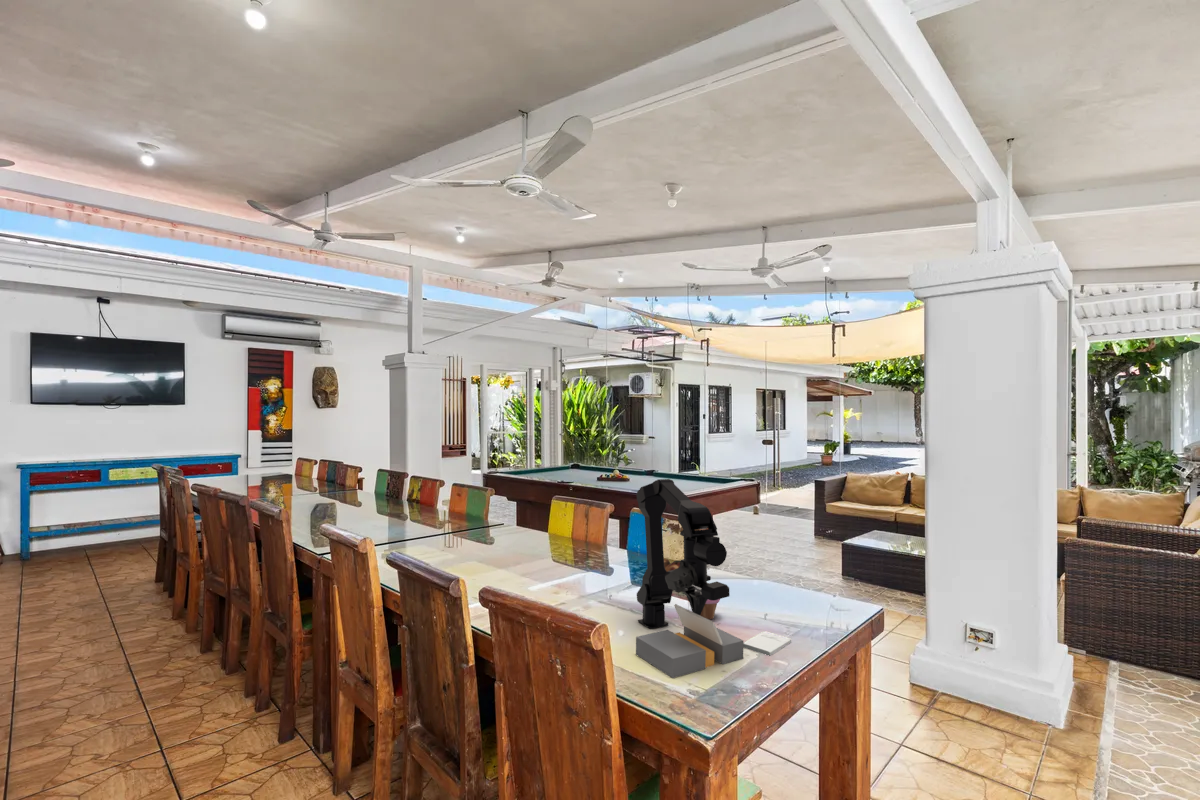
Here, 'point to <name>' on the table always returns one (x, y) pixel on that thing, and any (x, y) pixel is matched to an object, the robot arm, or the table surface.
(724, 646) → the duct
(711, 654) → the orange bar
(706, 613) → the cupcake
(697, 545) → the robot arm
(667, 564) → the decorative turtle
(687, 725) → the table surface
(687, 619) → the panel
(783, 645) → the external hard drive
